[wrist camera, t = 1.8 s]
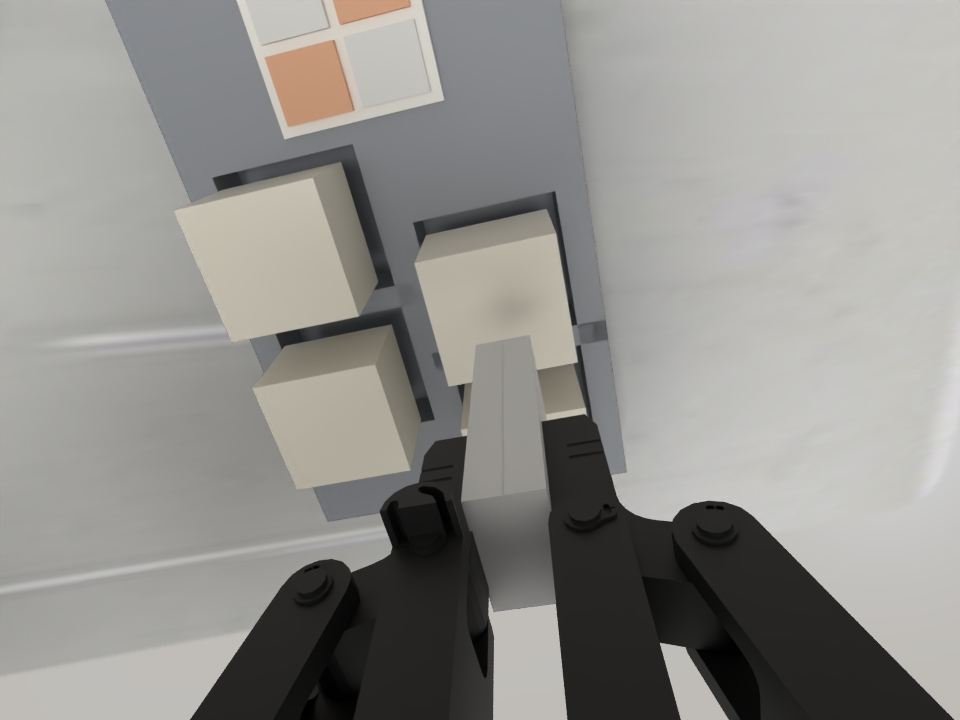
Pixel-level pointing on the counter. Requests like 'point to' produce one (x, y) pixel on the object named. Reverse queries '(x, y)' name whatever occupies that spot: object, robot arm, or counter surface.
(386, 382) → the button
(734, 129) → the counter surface
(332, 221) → the button
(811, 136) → the counter surface
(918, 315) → the counter surface
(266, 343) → the board
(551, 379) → the button
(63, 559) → the counter surface
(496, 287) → the button
